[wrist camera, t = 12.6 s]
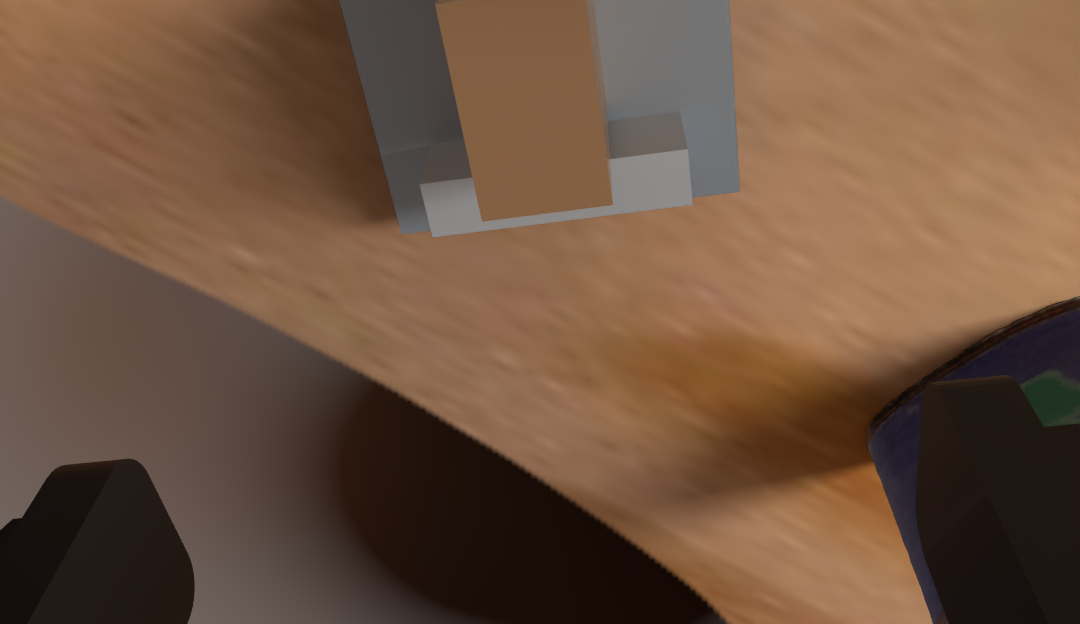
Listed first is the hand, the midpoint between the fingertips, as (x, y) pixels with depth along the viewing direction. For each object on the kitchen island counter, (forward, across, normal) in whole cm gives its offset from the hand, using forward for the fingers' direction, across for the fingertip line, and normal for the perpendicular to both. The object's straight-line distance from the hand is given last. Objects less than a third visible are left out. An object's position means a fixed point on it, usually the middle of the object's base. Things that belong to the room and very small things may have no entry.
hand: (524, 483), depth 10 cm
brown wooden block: (+18, +1, +1) cm, 19 cm away
